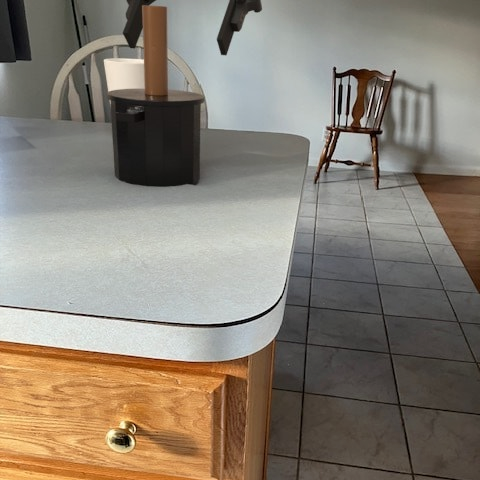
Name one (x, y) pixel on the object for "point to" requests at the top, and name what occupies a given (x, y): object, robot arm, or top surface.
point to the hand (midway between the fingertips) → (173, 44)
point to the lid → (155, 67)
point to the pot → (156, 144)
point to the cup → (124, 73)
